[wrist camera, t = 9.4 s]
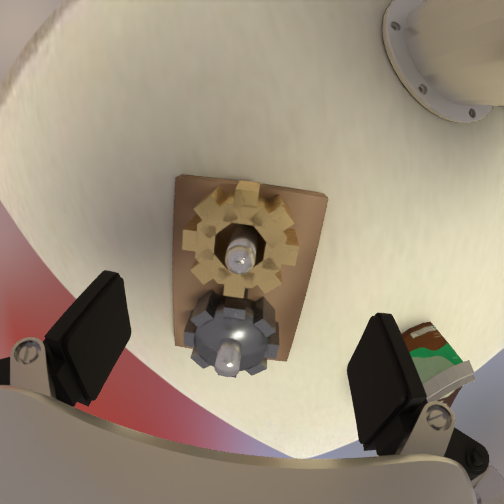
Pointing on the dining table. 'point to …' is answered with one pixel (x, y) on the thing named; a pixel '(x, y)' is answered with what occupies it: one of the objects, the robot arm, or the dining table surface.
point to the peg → (242, 249)
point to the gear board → (293, 277)
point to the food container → (437, 363)
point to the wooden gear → (250, 213)
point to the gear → (232, 333)
